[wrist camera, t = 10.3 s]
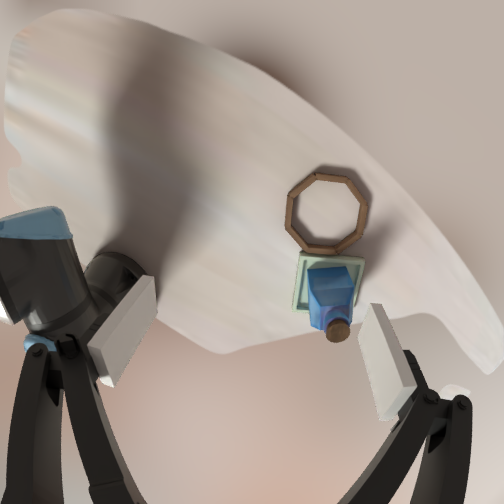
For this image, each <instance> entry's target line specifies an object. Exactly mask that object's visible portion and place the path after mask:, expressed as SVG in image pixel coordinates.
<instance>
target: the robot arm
mask: <svg viewBox="0 0 504 504" xmlns="http://www.w3.org/2000/svg"><path fill="white" fill-rule="evenodd" d="M72 238H73V235H72V234H71V233H70V230H69V227H68V224H67V221H66V218H65V215H64V213H63V211H62V210H61V209H60V208H58V207H55V206H47V207H42V208H37V209H32V210H28V211H24V212H21V213H16V214H13V215H10V216H6V217H3V218H1V219H0V321H2V322H4V323H7V324H10V325H14V324H16V323H18V322H19V321H21V320H22V319H23V320H24V322H25V324H26V326H27V328H28V330H29V332H30V334H28V335H26V337H25V340H24V349H25V351H26V356H25V360H24V363H23V367H22V370H21V374H20V379H19V383H18V387H17V392H16V397H15V403H14V407H13V413H12V419H11V426H10V434H9V443H8V454H7V473H6V489H5V492H4V495H3V498H2V501H1V504H64V498H63V487H62V473H61V472H62V471H61V422H62V405H63V394H64V393H63V392H64V391H65V397H66V402H67V407H68V412H69V416H70V420H71V425H72V429H73V433H74V436H75V440H76V444H77V447H78V450H79V453H80V457H81V460H82V463H83V466H84V469H85V472H86V475H87V477H88V480H89V483H90V486H89V493H90V496H91V499H92V501H93V504H147V503H146V501H145V500H144V498H143V497H142V495H141V493H140V492H139V490H138V488H137V486H136V484H135V482H134V480H133V478H132V476H131V474H130V472H129V469H128V468H127V465H126V463H125V461H124V458H123V456H122V454H121V451H120V449H119V446H118V444H117V442H116V439H115V436H114V434H113V431H112V429H111V426H110V423H109V420H108V418H107V415H106V412H105V409H104V406H103V403H102V399H101V396H100V393H99V390H98V386H97V383H96V380H97V379H98V377H99V378H100V380H101V382H102V384H105V385H108V386H111V387H115V386H116V384H117V382H118V381H119V378H120V377H121V375H122V373H123V372H124V370H125V368H126V366H127V364H128V363H129V361H130V359H131V357H132V356H133V354H134V352H135V350H136V349H137V347H138V345H139V344H140V342H141V340H142V338H143V337H144V335H145V333H146V332H147V330H148V328H149V327H150V325H151V323H152V322H153V320H154V318H155V317H156V315H157V313H158V311H157V302H156V292H155V282H154V277H153V276H147V274H146V273H145V271H144V270H143V269H142V268H141V267H140V266H139V265H138V264H137V263H136V262H135V261H133V260H132V259H130V258H128V257H127V256H125V255H122V254H119V253H114V252H106V253H102V254H100V255H98V256H97V257H96V258H94V259H93V260H92V261H91V262H90V263H89V264H88V265H87V267H86V269H85V271H84V273H83V271H82V267H81V265H80V262H79V259H78V256H77V253H76V250H75V246H74V243H73V239H72ZM358 341H359V344H360V348H361V351H362V355H363V358H364V362H365V366H366V369H367V373H368V377H369V380H370V384H371V388H372V392H373V396H374V400H375V404H376V408H377V413H378V417H379V421H387V420H393V419H394V417H395V416H396V415H397V413H398V416H399V420H398V421H397V423H396V424H395V425H394V426H393V427H392V429H391V433H390V434H389V436H388V437H387V439H386V440H385V442H384V443H383V445H382V446H381V448H380V449H379V451H378V452H377V454H376V455H375V457H374V458H373V460H372V461H371V462H370V464H369V465H368V466H367V468H366V469H365V471H364V472H363V473H362V474H361V476H360V477H359V478H358V480H357V481H356V482H355V483H354V485H353V486H352V487H351V488H350V490H349V491H348V492H347V493H346V494H345V495H344V497H343V498H342V499H341V500H340V501H339V502H338V503H337V504H388V503H389V502H390V500H391V498H392V497H393V496H394V494H395V492H396V491H397V489H398V488H399V486H400V485H401V483H402V481H403V480H404V478H405V476H406V474H407V473H408V471H409V469H410V467H411V466H412V464H413V462H414V460H415V458H416V456H417V454H418V453H419V451H420V449H421V446H422V445H423V443H424V440H425V438H426V443H425V448H424V453H423V457H422V461H421V466H420V470H419V474H418V478H417V482H416V485H415V488H414V492H413V495H412V498H411V501H410V504H463V503H464V498H465V493H466V487H467V480H468V473H469V466H470V455H471V443H472V403H471V401H470V399H469V398H467V397H466V396H464V395H457V396H455V397H454V399H453V400H452V401H451V400H445V399H441V398H440V396H439V395H438V393H437V392H435V391H434V390H432V389H429V388H428V385H427V383H426V381H425V378H424V376H423V374H422V371H421V370H420V367H419V365H418V362H417V360H416V358H415V356H414V355H413V354H412V353H411V352H410V350H402V347H401V345H400V343H399V341H398V338H397V336H396V334H395V332H394V330H393V327H392V325H391V323H390V321H389V319H388V317H387V315H386V312H385V310H384V308H383V306H382V304H375V303H370V306H369V308H368V311H367V314H366V317H365V319H364V322H363V325H362V327H361V330H360V333H359V335H358ZM426 436H427V437H426Z"/></svg>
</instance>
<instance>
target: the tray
mask: <svg viewBox="0 0 504 504" xmlns="http://www.w3.org/2000/svg"><path fill="white" fill-rule="evenodd" d="M364 265H365V260H364V258H363V257H352V256H341V255H328V254H317V253H306V252H300V254H299V262H298V269H297V276H296V283H295V290H294V297H293V303H292V312H297V313H309V304H308V280H307V269H317V268H330V267H342V266H346V267H347V270H348V272H349V275H350V277H351V279H352V282H353V284H354V301H353V308H354V304H355V301H356V297H357V293H358V289H359V286H360V282H361V278H362V274H363V270H364Z"/></svg>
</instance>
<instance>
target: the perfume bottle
mask: <svg viewBox="0 0 504 504" xmlns="http://www.w3.org/2000/svg"><path fill="white" fill-rule="evenodd" d="M307 280H308V304H309V313H310V322H311V326H312V327H315V328H317V329H319V330H324V332H325V334H326V338H327V339H328V340H329V341H330V342H334V343H338V342H342V341H344V340H345V339H346V338H348V336H349V335H350V328H349V327H350V324H351V322H352V314H353V301H354V284H353V282H352V279H351V277H350V275H349V272H348V270H347V267H346V266H342V267H330V268H317V269H307Z"/></svg>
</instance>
